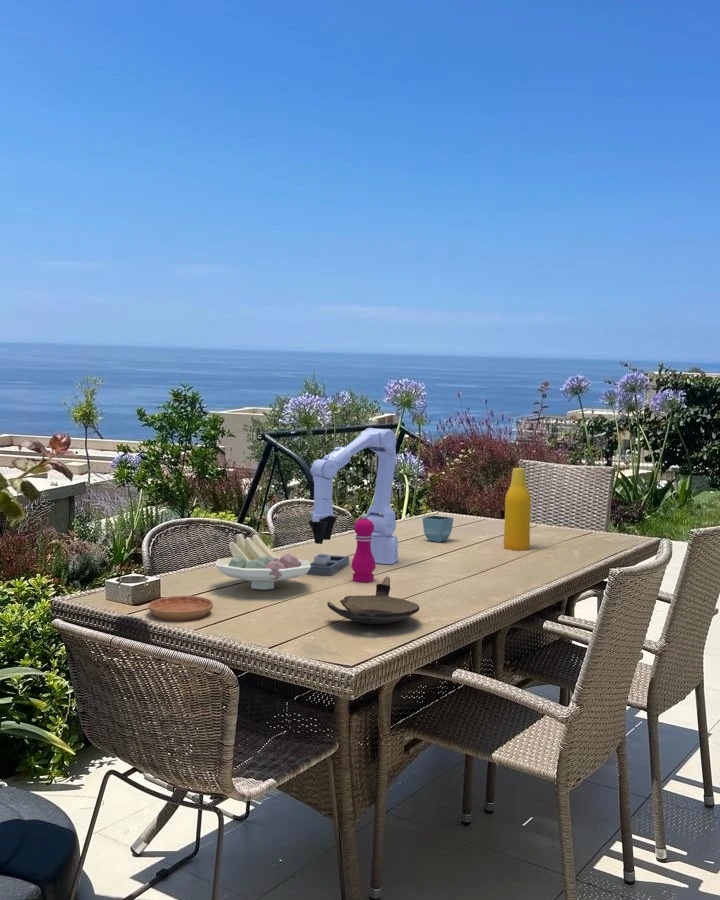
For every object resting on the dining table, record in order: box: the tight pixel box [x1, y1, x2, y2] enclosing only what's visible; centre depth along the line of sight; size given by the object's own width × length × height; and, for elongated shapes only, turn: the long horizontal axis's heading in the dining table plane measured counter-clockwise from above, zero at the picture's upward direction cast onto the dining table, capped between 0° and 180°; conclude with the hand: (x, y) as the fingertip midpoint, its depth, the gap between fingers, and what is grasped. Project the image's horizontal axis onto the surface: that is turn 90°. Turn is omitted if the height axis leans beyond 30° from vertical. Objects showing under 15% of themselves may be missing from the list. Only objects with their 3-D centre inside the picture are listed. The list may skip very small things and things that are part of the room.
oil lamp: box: [327, 576, 420, 625], centre depth 226 cm, size 22×30×8 cm
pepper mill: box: [351, 513, 376, 583], centre depth 270 cm, size 7×7×20 cm
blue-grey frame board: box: [305, 554, 350, 577], centre depth 286 cm, size 8×19×2 cm, turn 163°
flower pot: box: [422, 515, 454, 543], centre depth 340 cm, size 9×9×9 cm
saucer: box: [148, 595, 214, 621], centre depth 228 cm, size 16×16×3 cm
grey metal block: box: [313, 553, 331, 566], centre depth 282 cm, size 4×4×5 cm
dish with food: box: [215, 533, 311, 590], centre depth 258 cm, size 28×28×14 cm
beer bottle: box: [503, 467, 532, 551], centre depth 327 cm, size 9×9×29 cm
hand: (322, 541), depth 282 cm, fingers open, 7 cm apart
